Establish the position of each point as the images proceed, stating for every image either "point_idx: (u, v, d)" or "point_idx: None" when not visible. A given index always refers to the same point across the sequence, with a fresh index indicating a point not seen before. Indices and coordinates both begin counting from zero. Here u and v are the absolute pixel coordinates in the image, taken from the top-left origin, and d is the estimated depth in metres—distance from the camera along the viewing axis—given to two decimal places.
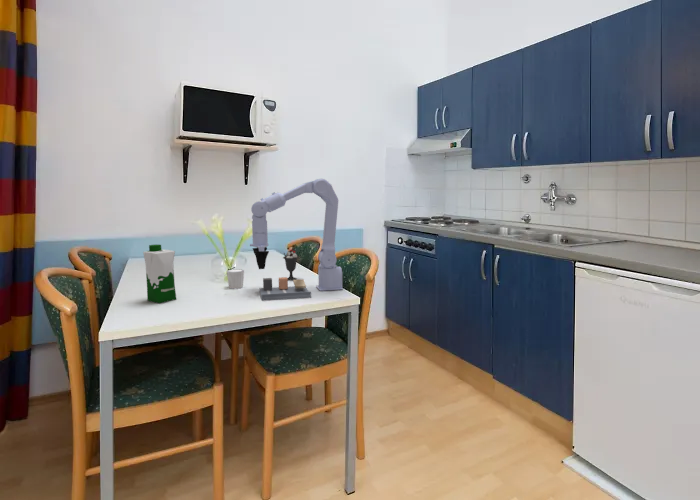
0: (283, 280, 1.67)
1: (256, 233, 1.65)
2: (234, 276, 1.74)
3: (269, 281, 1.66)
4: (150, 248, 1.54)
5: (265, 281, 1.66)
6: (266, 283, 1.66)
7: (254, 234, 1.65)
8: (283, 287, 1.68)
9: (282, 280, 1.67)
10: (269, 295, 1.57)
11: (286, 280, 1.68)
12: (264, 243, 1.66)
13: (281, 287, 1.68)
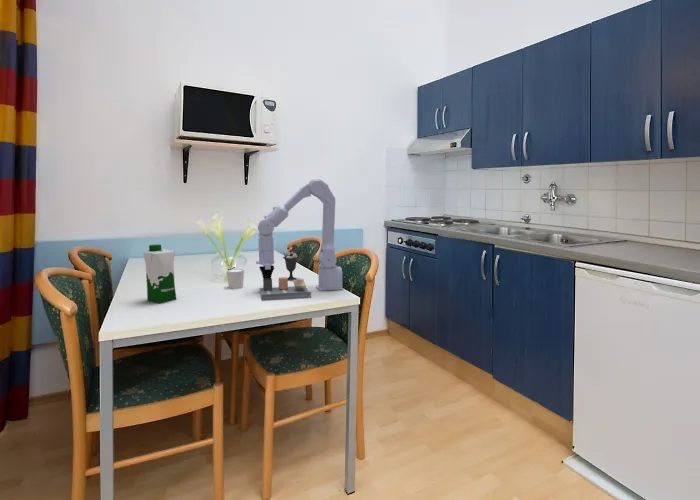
0: (283, 280, 1.67)
1: (262, 251, 1.66)
2: (234, 276, 1.74)
3: (269, 281, 1.66)
4: (150, 248, 1.54)
5: (265, 281, 1.66)
6: (266, 283, 1.66)
7: (260, 252, 1.67)
8: (283, 287, 1.68)
9: (282, 280, 1.67)
10: (269, 295, 1.57)
11: (286, 280, 1.68)
12: (270, 261, 1.67)
13: (281, 287, 1.68)
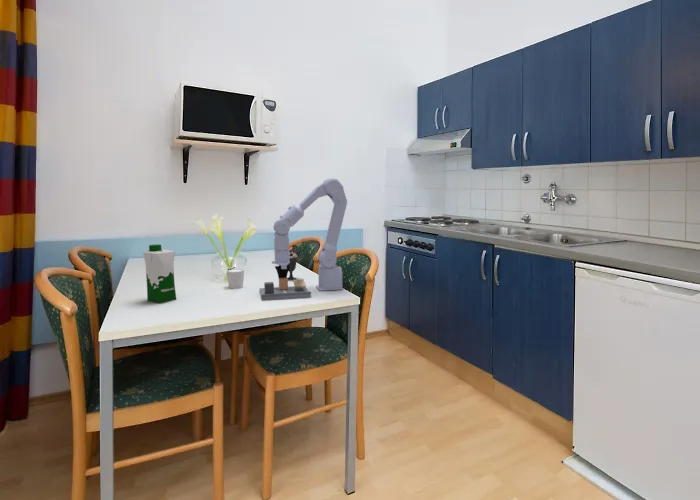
0: (283, 280, 1.67)
1: (278, 251, 1.67)
2: (234, 276, 1.74)
3: (271, 285, 1.59)
4: (150, 248, 1.54)
5: (266, 285, 1.58)
6: (267, 287, 1.59)
7: (276, 252, 1.67)
8: (283, 287, 1.67)
9: (282, 280, 1.67)
10: (269, 295, 1.57)
11: (286, 280, 1.67)
12: (286, 260, 1.68)
13: (281, 287, 1.67)
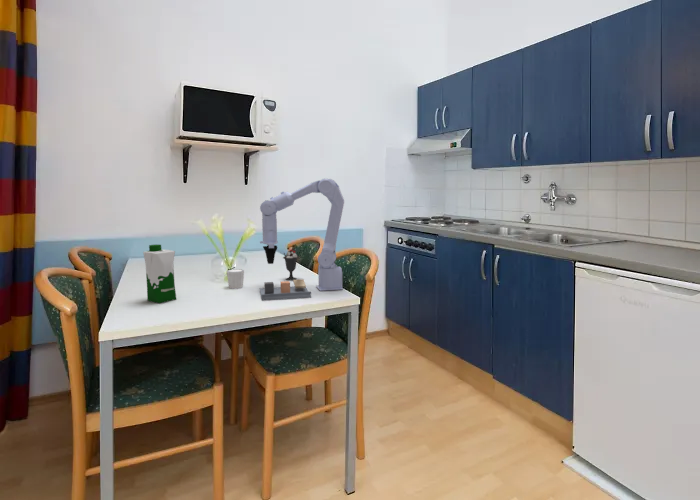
0: (285, 284, 1.60)
1: (266, 231, 1.72)
2: (234, 276, 1.74)
3: (271, 285, 1.59)
4: (150, 248, 1.54)
5: (266, 285, 1.58)
6: (267, 287, 1.59)
7: (264, 232, 1.72)
8: (285, 291, 1.61)
9: (284, 284, 1.60)
10: (269, 295, 1.57)
11: (288, 284, 1.60)
12: (274, 240, 1.73)
13: (283, 291, 1.60)
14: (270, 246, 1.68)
